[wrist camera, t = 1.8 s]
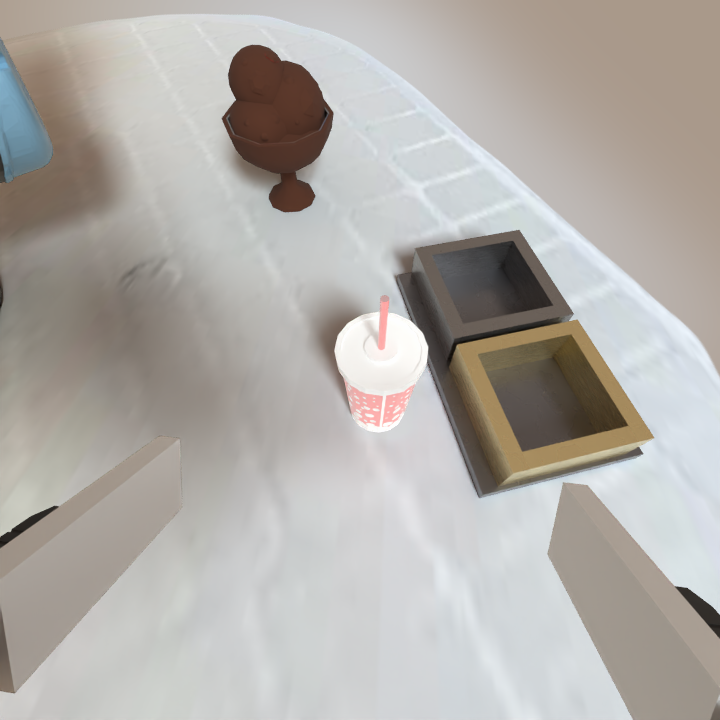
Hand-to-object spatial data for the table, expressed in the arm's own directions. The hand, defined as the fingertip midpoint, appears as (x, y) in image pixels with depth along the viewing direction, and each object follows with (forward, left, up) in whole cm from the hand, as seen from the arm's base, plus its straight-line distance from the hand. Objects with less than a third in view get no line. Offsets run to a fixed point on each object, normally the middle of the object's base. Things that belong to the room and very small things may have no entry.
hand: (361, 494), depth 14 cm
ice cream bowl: (-39, +1, -17) cm, 43 cm away
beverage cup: (-10, +4, -17) cm, 20 cm away
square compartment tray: (-12, +16, -17) cm, 26 cm away
